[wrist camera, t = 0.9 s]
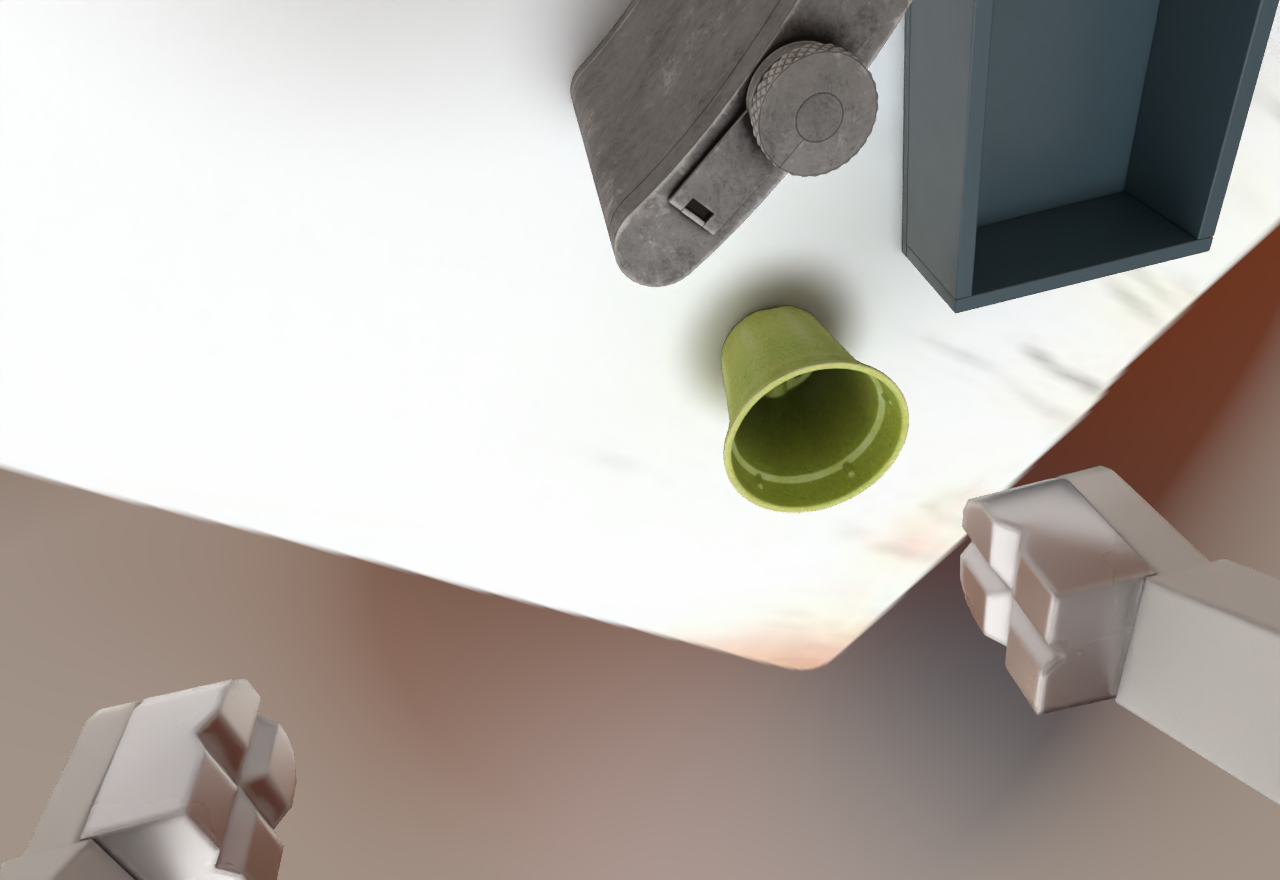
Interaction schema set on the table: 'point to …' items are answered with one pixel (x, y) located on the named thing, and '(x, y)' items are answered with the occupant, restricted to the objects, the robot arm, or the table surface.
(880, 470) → the plant pot
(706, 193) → the flask
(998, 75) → the tote
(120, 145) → the table surface
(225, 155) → the table surface
